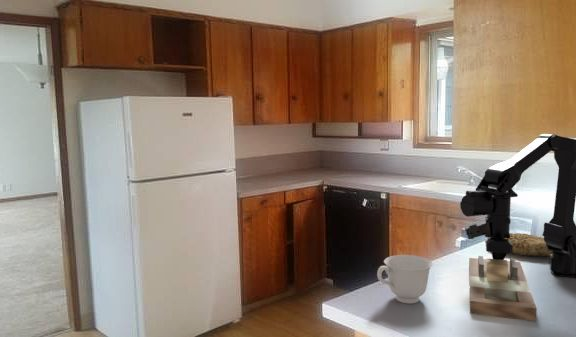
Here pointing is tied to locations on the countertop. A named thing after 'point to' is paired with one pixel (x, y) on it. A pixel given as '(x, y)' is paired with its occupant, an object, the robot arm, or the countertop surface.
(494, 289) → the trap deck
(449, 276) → the countertop surface
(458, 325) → the countertop surface
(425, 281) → the teacup
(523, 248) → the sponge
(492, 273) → the maple block
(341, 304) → the countertop surface
